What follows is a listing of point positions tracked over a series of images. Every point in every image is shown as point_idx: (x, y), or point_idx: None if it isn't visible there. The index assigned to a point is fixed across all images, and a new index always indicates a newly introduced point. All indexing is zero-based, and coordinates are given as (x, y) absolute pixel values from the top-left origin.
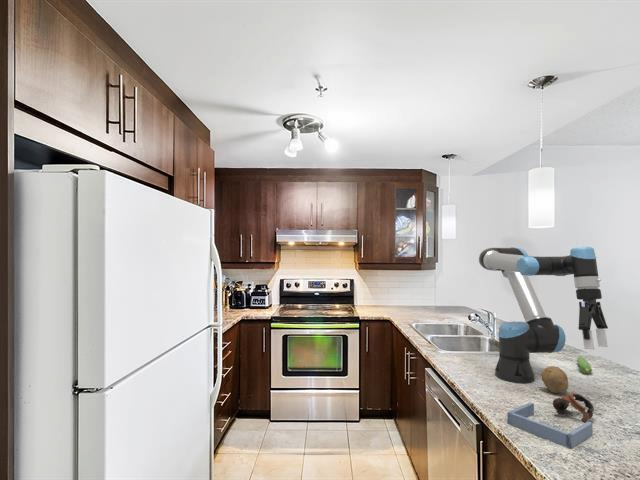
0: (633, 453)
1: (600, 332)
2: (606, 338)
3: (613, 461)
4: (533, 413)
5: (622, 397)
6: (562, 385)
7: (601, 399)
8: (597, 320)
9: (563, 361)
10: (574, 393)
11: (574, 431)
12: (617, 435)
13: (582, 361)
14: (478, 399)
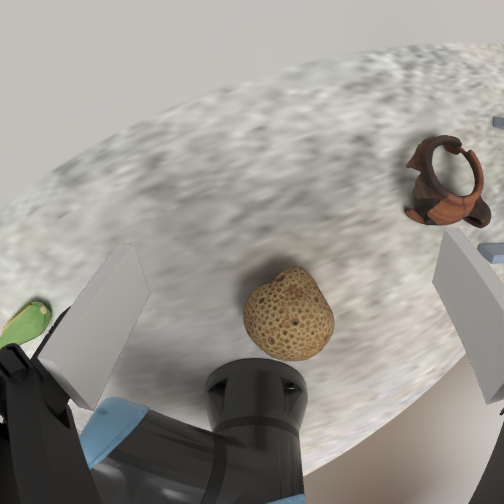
0: (500, 45)
1: (91, 358)
2: (85, 287)
3: None
4: (481, 245)
5: (129, 160)
6: (313, 280)
7: (213, 186)
8: (78, 486)
9: None
10: (453, 199)
11: None
12: (457, 74)
13: (24, 335)
14: None
